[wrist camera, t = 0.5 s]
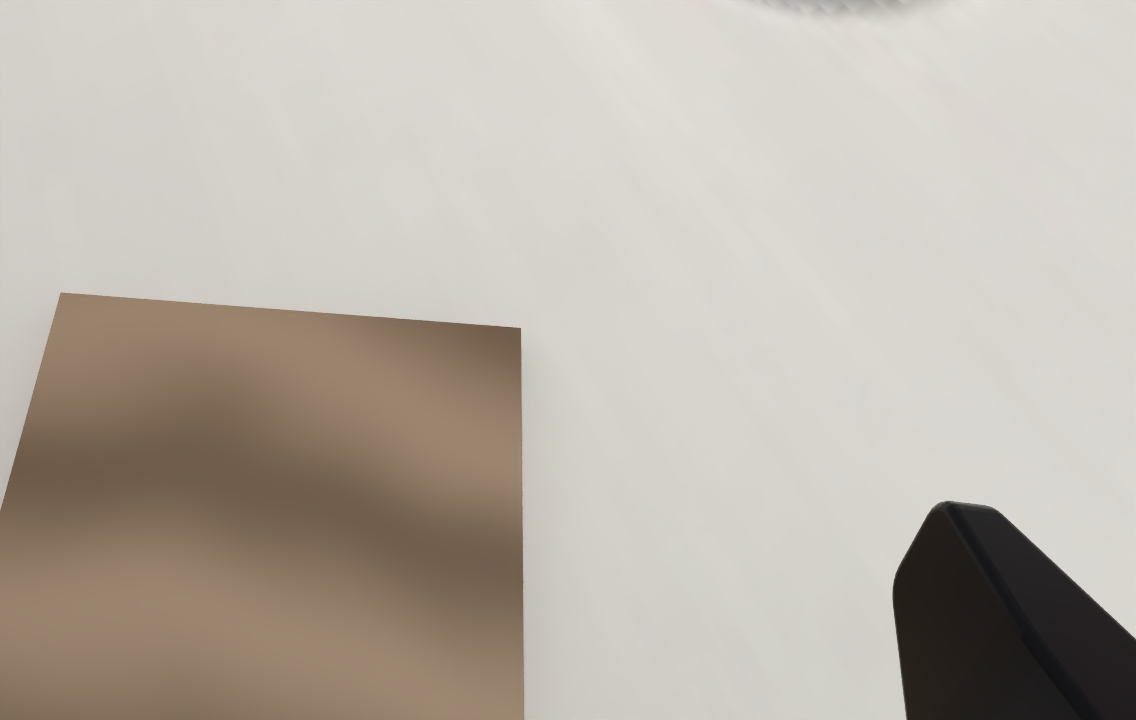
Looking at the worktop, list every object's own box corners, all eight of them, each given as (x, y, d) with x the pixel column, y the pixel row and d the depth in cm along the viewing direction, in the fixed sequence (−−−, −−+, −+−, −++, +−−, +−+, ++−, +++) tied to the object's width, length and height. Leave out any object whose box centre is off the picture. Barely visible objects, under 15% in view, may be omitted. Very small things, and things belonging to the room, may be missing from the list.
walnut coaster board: (519, 792, 22) (524, 783, 22) (-61, 788, 20) (-74, 779, 20) (516, 345, 28) (521, 328, 28) (67, 312, 26) (60, 292, 26)
